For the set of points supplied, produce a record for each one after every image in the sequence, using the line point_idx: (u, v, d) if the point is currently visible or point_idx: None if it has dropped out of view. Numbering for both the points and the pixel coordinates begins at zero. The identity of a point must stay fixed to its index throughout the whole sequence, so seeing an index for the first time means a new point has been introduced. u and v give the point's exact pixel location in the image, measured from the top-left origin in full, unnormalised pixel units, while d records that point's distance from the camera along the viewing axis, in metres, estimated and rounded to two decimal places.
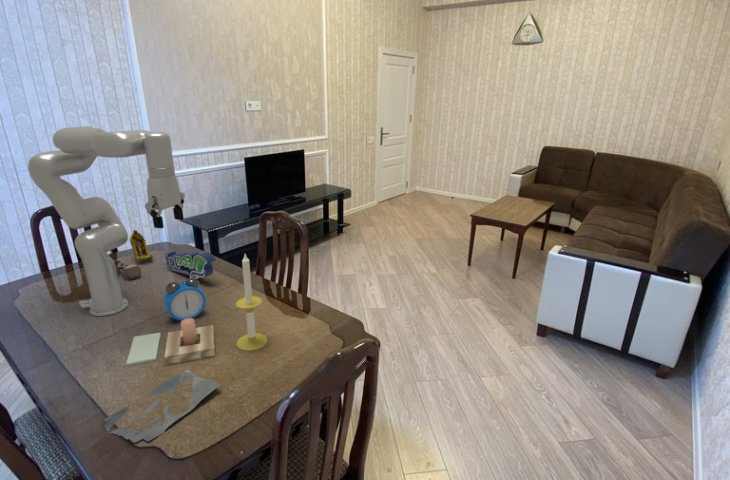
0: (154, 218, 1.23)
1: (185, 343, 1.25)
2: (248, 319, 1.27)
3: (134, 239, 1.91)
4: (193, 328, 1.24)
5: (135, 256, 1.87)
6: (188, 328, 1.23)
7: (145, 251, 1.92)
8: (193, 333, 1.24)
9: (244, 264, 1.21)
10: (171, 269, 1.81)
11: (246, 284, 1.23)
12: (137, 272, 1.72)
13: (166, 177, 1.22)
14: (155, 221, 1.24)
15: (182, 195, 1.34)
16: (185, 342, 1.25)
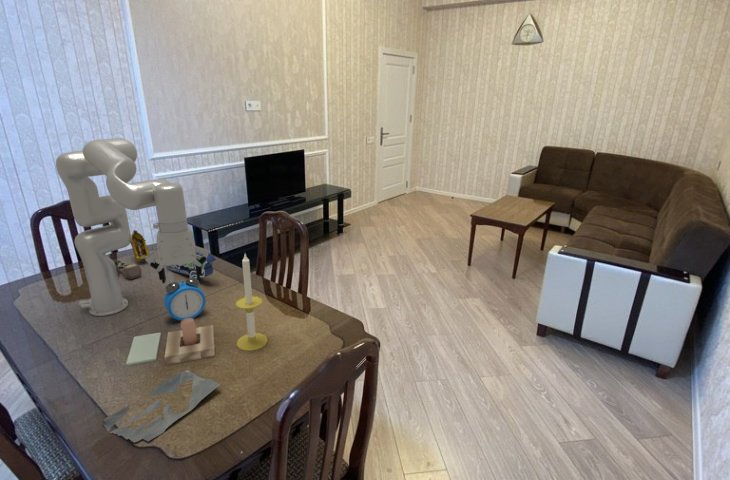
0: (200, 267, 1.20)
1: (185, 343, 1.25)
2: (248, 319, 1.27)
3: (134, 239, 1.91)
4: (193, 328, 1.24)
5: (135, 256, 1.87)
6: (188, 328, 1.23)
7: (145, 251, 1.92)
8: (193, 333, 1.24)
9: (244, 264, 1.21)
10: (171, 269, 1.81)
11: (246, 284, 1.23)
12: (137, 272, 1.73)
13: None
14: None
15: None
16: (185, 342, 1.25)
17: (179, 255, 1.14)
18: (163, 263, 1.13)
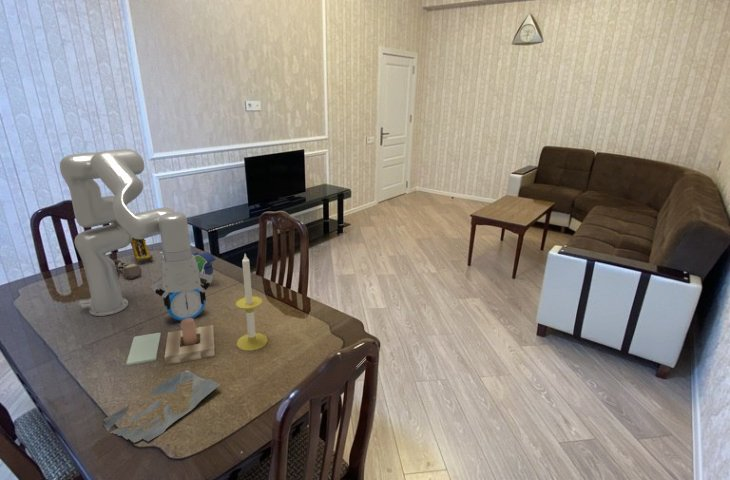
0: (204, 292, 1.22)
1: (185, 343, 1.25)
2: (248, 319, 1.27)
3: (134, 239, 1.91)
4: (193, 328, 1.24)
5: (135, 256, 1.87)
6: (188, 328, 1.23)
7: (145, 251, 1.92)
8: (193, 333, 1.24)
9: (244, 264, 1.21)
10: None
11: (246, 284, 1.23)
12: (137, 271, 1.73)
13: None
14: None
15: None
16: (185, 342, 1.25)
17: (183, 282, 1.17)
18: (168, 290, 1.16)
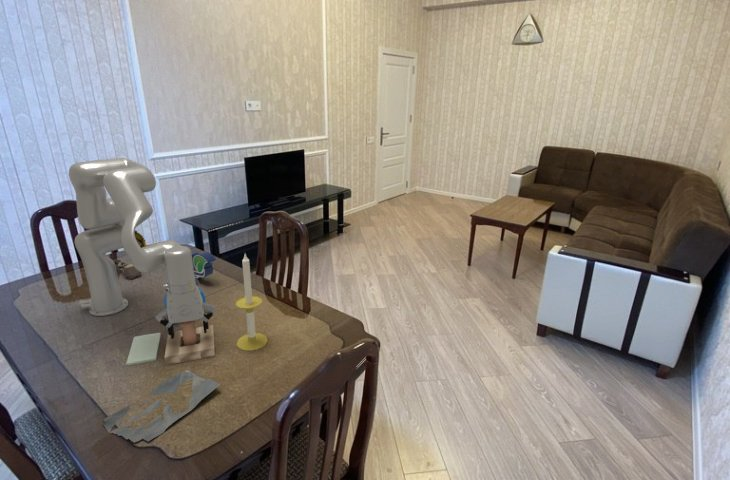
0: (207, 321, 1.26)
1: (185, 343, 1.25)
2: (248, 319, 1.27)
3: None
4: (193, 328, 1.24)
5: None
6: (188, 328, 1.23)
7: None
8: (193, 333, 1.24)
9: (244, 264, 1.21)
10: None
11: (246, 284, 1.23)
12: (138, 271, 1.73)
13: None
14: None
15: None
16: (185, 342, 1.25)
17: (187, 313, 1.20)
18: (172, 321, 1.19)
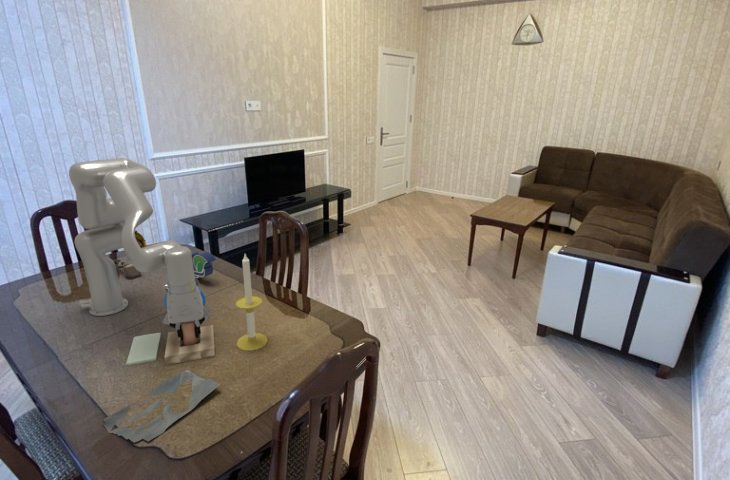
0: (199, 326, 1.26)
1: (185, 343, 1.25)
2: (248, 319, 1.27)
3: None
4: (193, 328, 1.24)
5: None
6: (188, 328, 1.23)
7: None
8: (193, 333, 1.24)
9: (244, 264, 1.21)
10: None
11: (246, 284, 1.23)
12: (138, 271, 1.74)
13: None
14: None
15: None
16: (185, 342, 1.25)
17: (187, 313, 1.20)
18: (172, 321, 1.19)
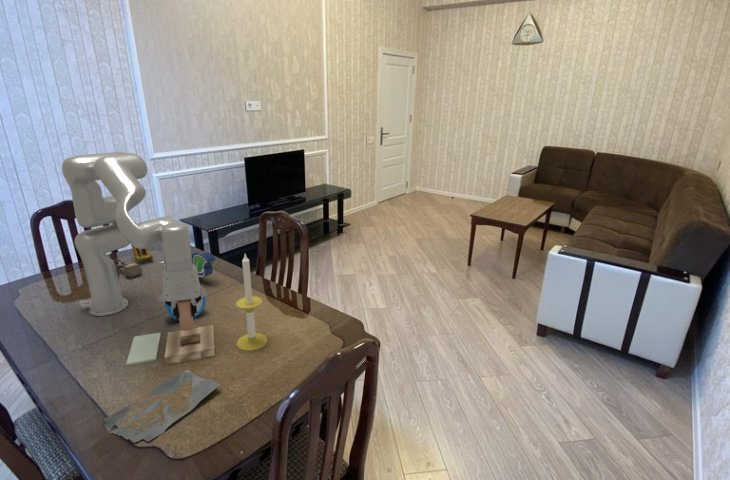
0: None
1: (181, 322, 1.22)
2: (248, 319, 1.27)
3: None
4: (189, 307, 1.22)
5: (135, 256, 1.87)
6: (184, 306, 1.20)
7: (145, 251, 1.92)
8: (189, 312, 1.22)
9: (244, 264, 1.21)
10: None
11: (246, 284, 1.23)
12: (138, 270, 1.74)
13: None
14: (196, 308, 1.24)
15: None
16: (181, 321, 1.22)
17: (184, 291, 1.18)
18: (168, 299, 1.17)
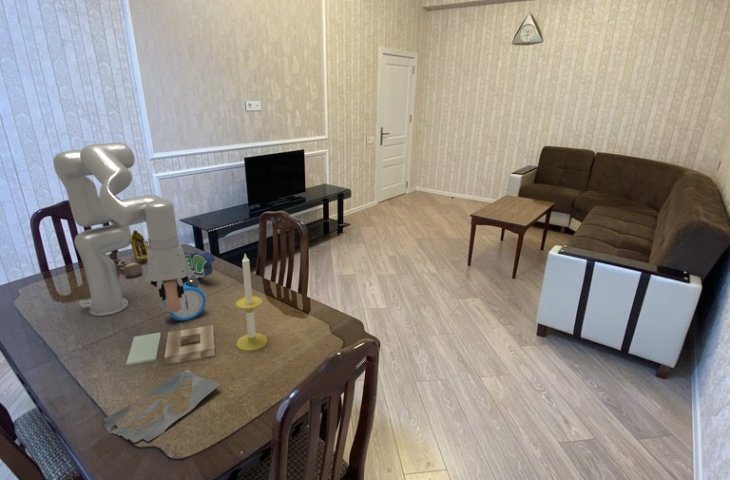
0: (182, 286, 1.21)
1: (167, 303, 1.20)
2: (248, 319, 1.27)
3: (134, 239, 1.91)
4: (176, 287, 1.19)
5: (135, 256, 1.87)
6: (171, 287, 1.18)
7: (145, 251, 1.92)
8: (176, 293, 1.19)
9: (244, 264, 1.21)
10: None
11: (246, 284, 1.23)
12: (138, 270, 1.74)
13: None
14: None
15: None
16: (167, 302, 1.19)
17: (169, 271, 1.15)
18: (153, 279, 1.14)
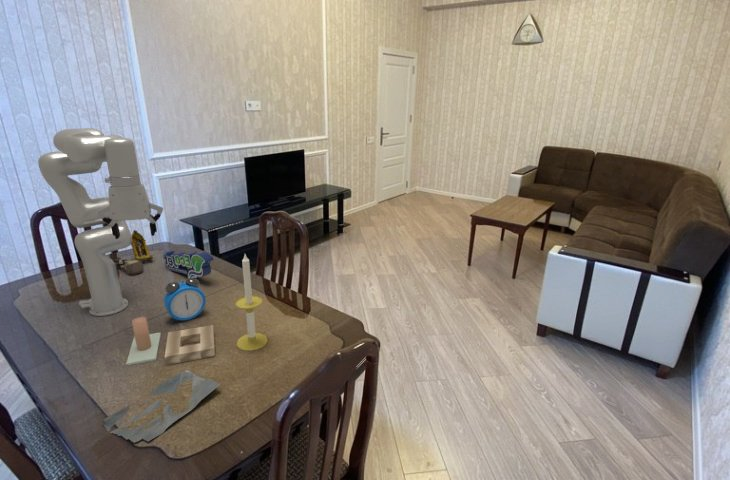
0: (155, 224, 1.21)
1: (137, 342, 1.23)
2: (248, 319, 1.27)
3: (134, 239, 1.91)
4: (145, 327, 1.23)
5: (135, 256, 1.87)
6: (139, 327, 1.21)
7: (145, 251, 1.92)
8: (145, 332, 1.23)
9: (244, 264, 1.21)
10: (169, 268, 1.82)
11: (246, 284, 1.23)
12: (140, 267, 1.77)
13: None
14: (155, 227, 1.22)
15: None
16: (137, 341, 1.23)
17: (131, 210, 1.15)
18: (115, 218, 1.14)
